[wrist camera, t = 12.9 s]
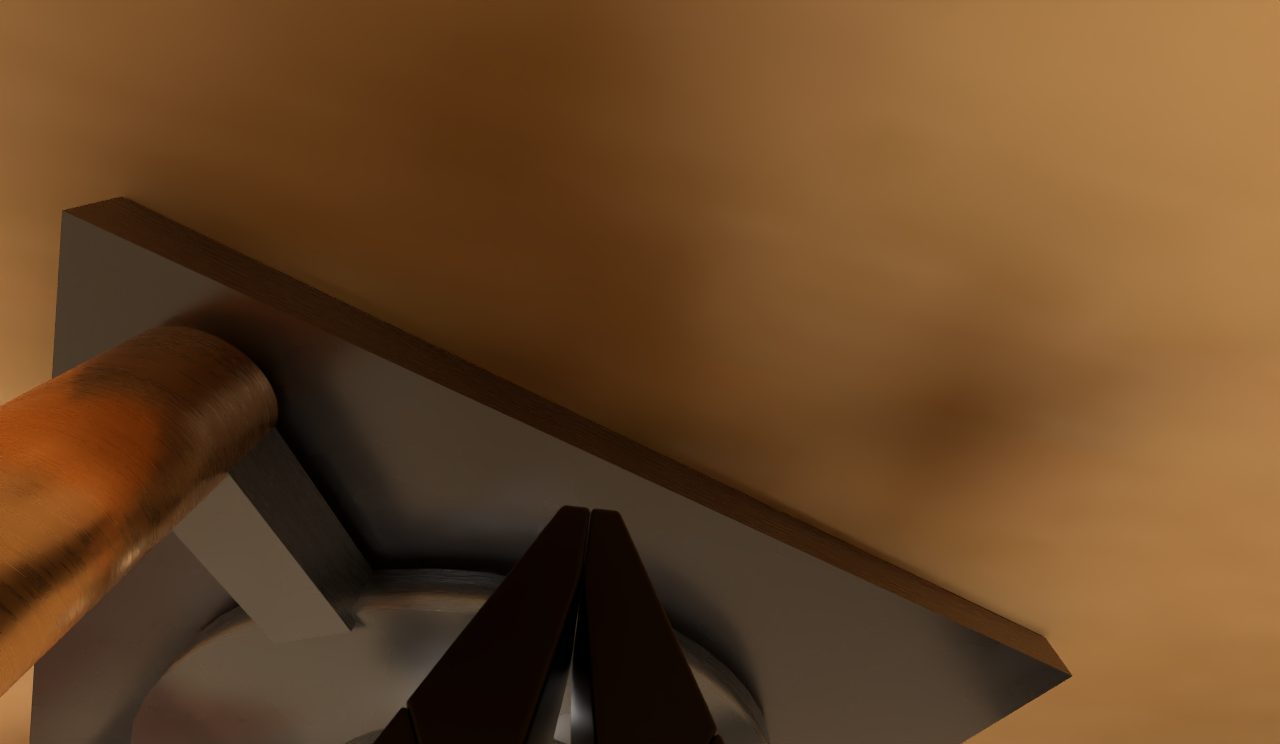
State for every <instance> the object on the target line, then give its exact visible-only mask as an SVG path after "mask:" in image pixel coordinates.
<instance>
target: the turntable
mask: <svg viewBox="0 0 1280 744" xmlns="http://www.w3.org/2000/svg"><path fill="white" fill-rule="evenodd" d="M277 418H278V406H277V400H276V397H275V394H274V391H273V389H272V387H271V385H270V383H269V381H268V380H267V378H266V377H265V375H264V374H263V373H262V371H261V370H260V369H259V368H258V367H257V366H256V364H255V363H254V362H253V361H252V360H250V359H249V358H248V357H247V356H246V355H245V354H243V353H242V352H241V351H239V350H238V349H237V348H235V347H234V346H232V345H231V344H229V343H227V342H225V341H224V340H222V339H220V338H218V337H216V336H213V335H211V334H208V333H206V332H202V331H199V330H196V329H191V328H186V327H177V326H163V327H157V328H152V329H149V330H146V331H144V332H142V333H140V334H138V335H136V336H134V337H132V338H131V339H129V340H127V341H125V342H123V343H121V344H119V345H117V346H115V347H113V348H111V349H109V350H107V351H105V352H104V353H102V354H100V355H98V356H96V357H94V358H92V359H90V360H88V361H86V362H84V363H82V364H80V365H78V366H77V367H75V368H73V369H71V370H69V371H67V372H65V373H63V374H61V375H59V376H57V377H55V378H53V379H51V380H49V381H48V382H46V383H44V384H42V385H40V386H38V387H36V388H34V389H32V390H30V391H28V392H26V393H24V394H22V395H21V396H19V397H17V398H15V399H13V400H11V401H9V402H7V403H5V404H3V405H1V406H0V697H1V696H2V695H3V694H4V693H5V692H6V691H7V690H8V689H9V688H10V687H11V686H12V685H13V684H14V683H15V682H16V681H18V680H19V679H20V678H21V677H22V676H23V675H24V674H25V673H26V672H27V671H28V670H29V669H30V668H31V667H32V666H33V665H34V664H35V663H36V662H37V661H38V660H39V659H40V658H41V657H42V656H43V655H44V654H45V653H46V652H47V651H48V650H49V649H50V648H51V647H52V646H54V645H55V644H56V643H57V642H58V641H59V640H60V639H61V638H62V637H63V636H64V635H65V634H66V633H67V632H68V631H69V630H70V629H71V628H72V627H73V626H74V625H75V624H76V623H77V622H78V621H79V620H80V619H81V618H82V617H83V616H84V615H85V614H86V613H87V612H88V611H89V610H91V609H92V608H93V607H94V606H95V605H96V604H97V603H98V602H99V601H100V600H101V599H102V598H103V597H104V596H105V595H106V594H107V593H108V592H109V591H110V590H111V589H112V588H113V587H114V586H115V585H116V584H117V583H118V582H119V581H120V580H121V579H122V578H123V577H124V576H125V575H127V574H128V573H129V572H130V571H131V570H132V569H133V568H134V567H135V566H136V565H137V564H138V563H139V562H140V561H141V560H142V559H143V558H144V557H145V556H146V555H147V554H148V553H149V552H150V551H151V550H152V549H153V548H154V547H155V546H156V545H157V544H158V543H159V542H160V541H161V540H162V539H164V538H165V537H166V536H167V535H168V534H169V533H170V532H171V531H173V532H174V533H175V534H176V535H177V536H178V537H179V539H180V540H181V541H182V542H183V543H184V544H185V545H186V546H187V547H188V549H189V550H190V551H191V552H192V553H193V554H194V555H195V556H196V557H197V559H198V560H199V561H200V562H201V563H202V564H203V565H204V566H205V567H206V569H207V570H208V571H209V572H210V573H211V574H212V575H213V576H214V578H215V579H216V580H217V581H218V582H219V583H220V584H221V585H222V586H223V588H224V589H225V590H226V591H227V592H228V593H229V594H230V595H231V596H232V598H233V599H234V600H235V601H236V602H237V603H238V604H239V605H240V606H238V607H237V608H235V609H233V610H231V611H229V612H227V613H225V614H223V615H221V616H220V617H219V618H217V619H216V620H215V621H214V622H212V623H211V624H210V625H208V626H207V627H206V628H205V629H203V630H202V631H201V632H199V633H198V634H197V635H196V636H195V637H194V638H193V639H192V641H191V642H190V643H189V644H188V645H187V646H186V648H185V649H184V650H183V651H182V652H181V654H180V655H179V656H178V657H177V658H176V660H175V661H174V662H173V663H172V665H171V666H170V667H169V669H168V670H167V671H166V672H165V674H164V675H163V676H162V677H161V679H160V680H159V681H158V682H157V684H156V685H155V686H154V687H153V689H152V690H151V691H150V692H149V694H148V695H147V696H146V697H145V699H144V700H143V702H142V704H141V706H140V708H139V711H138V713H137V715H136V717H135V719H134V721H133V727H132V734H131V742H130V744H344V743H346V742H348V741H350V740H352V739H354V738H356V737H359V736H362V735H364V734H367V733H370V732H373V731H376V730H380V729H384V728H385V727H386V726H387V725H388V723H389V722H390V721H391V720H392V718H393V717H394V716H395V715H396V713H397V712H398V711H399V710H400V709H401V708H403V707H405V708H407V707H406V702H407V700H408V699H409V697H410V696H411V695H412V694H413V692H414V691H415V690H416V689H417V687H418V686H419V685H420V684H421V682H422V681H423V680H424V679H425V677H426V676H427V675H428V674H429V672H430V671H431V670H432V669H433V667H434V666H435V665H436V664H437V662H438V661H439V660H440V659H441V657H442V656H443V655H444V653H445V652H446V651H447V650H448V648H449V647H450V646H451V645H452V643H453V642H454V641H455V640H456V638H457V637H458V636H459V635H460V633H461V632H462V631H463V630H464V628H465V627H466V626H467V625H468V623H469V622H470V621H471V620H472V618H473V617H474V616H475V615H476V613H477V612H478V611H479V609H480V608H481V607H482V606H483V604H484V603H485V602H486V601H487V599H488V598H489V597H490V596H491V594H492V593H493V592H494V591H495V589H496V588H497V587H498V586H499V584H500V583H501V582H502V581H503V579H504V578H505V577H506V576H507V575H502V574H496V573H490V572H478V571H464V570H450V569H436V568H434V569H384V570H375V571H373V570H372V568H371V567H370V565H369V564H368V563H367V561H366V560H365V558H364V557H363V555H362V554H361V552H360V551H359V549H358V548H357V546H356V545H355V544H354V542H353V541H352V539H351V538H350V536H349V535H348V533H347V532H346V530H345V529H344V527H343V526H342V525H341V523H340V522H339V520H338V519H337V517H336V516H335V514H334V513H333V511H332V510H331V508H330V507H329V505H328V504H327V503H326V501H325V500H324V498H323V497H322V495H321V494H320V492H319V491H318V489H317V488H316V486H315V485H314V484H313V482H312V481H311V479H310V478H309V476H308V475H307V473H306V472H305V470H304V469H303V467H302V466H301V465H300V463H299V462H298V460H297V459H296V457H295V456H294V454H293V453H292V451H291V450H290V448H289V447H288V445H287V444H286V443H285V441H284V440H283V438H282V437H281V435H280V434H279V432H278V431H277V429H276V428H275V425H276V422H277ZM580 594H581V592H580ZM579 602H580V600H579ZM578 610H579V607H578ZM577 618H578V615H577ZM576 626H577V623H576ZM673 631H674V633H675V635H676V637H677V639H678V642H679V644H680V646H681V648H682V651H683V653H684V655H685V657H686V659H687V662H688V664H689V666H690V668H691V670H692V673H693V675H694V677H695V679H696V681H697V684H698V686H699V688H700V690H701V693H702V695H703V697H704V699H705V701H706V704H707V706H708V708H709V710H710V712H711V715H712V717H713V719H714V721H715V723H716V726H717V728H718V731H717V734H716V735H718V734H719V735H721V736H722V738H723V740H724V743H725V744H771V743H770V738H769V733H768V730H767V727H766V724H765V721H764V718H763V716H762V713H761V711H760V709H759V708H758V706H757V704H756V703H755V701H754V699H753V698H752V696H751V694H750V693H749V691H748V690H747V689H746V688H745V686H744V685H743V684H742V683H741V682H740V681H739V680H738V679H737V677H736V676H735V675H734V674H733V673H732V672H731V671H730V670H729V668H727V667H726V666H725V665H724V664H722V663H721V662H720V661H719V660H718V659H716V658H715V657H714V656H713V655H712V654H710V653H709V652H708V651H707V650H705V649H704V648H703V647H702V646H700V645H698V644H697V643H695V642H694V641H692V640H690V639H689V638H687V637H686V636H684V635H682V634H681V633H679V632H678V631H676V630H674V629H673ZM575 634H576V631H575ZM574 642H575V639H574ZM573 651H574V647H573ZM572 661H573V654H572V660H571V667H570V671H569V676H568V680H567V685H566V689H565V693H564V697H563V701H562V706H561V710H560V714H559V718H558V722H557V726H556V730H555V734H554V738H553V739H555V740H558V741H560V742H563V743H566V744H571V678H572Z"/></svg>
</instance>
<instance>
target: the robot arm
mask: <svg viewBox="0 0 1280 744" xmlns="http://www.w3.org/2000/svg"><path fill="white" fill-rule="evenodd" d="M589 520H590V522H589ZM588 528H589V530H588ZM587 536H588V538H587ZM586 544H587V546H586ZM585 552H586V554H585ZM584 560H585V562H584ZM583 568H584V570H583ZM582 576H583V578H582ZM581 584H582V586H581ZM580 592H581V594H580ZM579 600H580V602H579ZM578 607H579V610H578ZM577 615H578V618H577ZM576 623H577V626H576ZM575 631H576V634H575ZM574 639H575V642H574ZM573 647H574V651H573ZM572 654H573V661H572V678H571V744H725V743H724V740H723V738H722V736H721V735H719V734H718V735H716V734H717V731H718V728H717V726H716V723H715V721H714V719H713V717H712V715H711V712H710V710H709V708H708V706H707V704H706V701H705V699H704V697H703V695H702V693H701V690H700V688H699V686H698V684H697V681H696V679H695V677H694V675H693V673H692V670H691V668H690V666H689V664H688V662H687V659H686V657H685V655H684V653H683V651H682V648H681V646H680V644H679V642H678V639H677V637H676V635H675V633H674V631H673V628H672V626H671V624H670V622H669V620H668V617H667V615H666V613H665V611H664V609H663V606H662V604H661V602H660V600H659V597H658V595H657V593H656V591H655V589H654V586H653V584H652V582H651V580H650V578H649V575H648V573H647V571H646V569H645V567H644V564H643V562H642V560H641V558H640V555H639V553H638V551H637V549H636V547H635V544H634V542H633V540H632V538H631V536H630V533H629V531H628V529H627V527H626V525H625V522H624V520H623V518H622V516H621V514H620V513H619V512H618V511H615V510H607V509H598V508H595V509H593V510H592V511H591V515H590V510H589V509H588V508H587V507H579V506H570V505H564V506H562V507H561V508H560V509H559V510H558V511H557V513H556V514H555V515H554V516H553V518H552V519H551V520H550V521H549V523H548V524H547V525H546V527H545V528H544V529H543V530H542V532H541V533H540V534H539V535H538V537H537V538H536V539H535V540H534V542H533V543H532V544H531V545H530V547H529V548H528V549H527V550H526V552H525V553H524V554H523V555H522V557H521V558H520V559H519V560H518V562H517V563H516V564H515V565H514V567H513V568H512V569H511V571H510V572H509V573H508V574H507V576H506V577H505V578H504V579H503V581H502V582H501V583H500V584H499V586H498V587H497V588H496V589H495V591H494V592H493V593H492V594H491V596H490V597H489V598H488V599H487V601H486V602H485V603H484V604H483V606H482V607H481V608H480V609H479V611H478V612H477V613H476V615H475V616H474V617H473V618H472V620H471V621H470V622H469V623H468V625H467V626H466V627H465V628H464V630H463V631H462V632H461V633H460V635H459V636H458V637H457V638H456V640H455V641H454V642H453V643H452V645H451V646H450V647H449V648H448V650H447V651H446V652H445V653H444V655H443V656H442V657H441V659H440V660H439V661H438V662H437V664H436V665H435V666H434V667H433V669H432V670H431V671H430V672H429V674H428V675H427V676H426V677H425V679H424V680H423V681H422V682H421V684H420V685H419V686H418V687H417V689H416V690H415V691H414V692H413V694H412V695H411V696H410V697H409V699H408V700H407V702H406V707H407V708H405V707H403V708H401V709H400V710H399V711H398V712H397V713H396V715H395V716H394V717H393V718H392V720H391V721H390V722H389V723H388V725H387V726H386V727H385V728H384V730H383V731H382V732H381V733H380V735H379V736H378V737H377V738H376V740H375V741H374V742H373V743H372V744H552V742H553V738H554V734H555V730H556V726H557V722H558V718H559V714H560V710H561V706H562V701H563V697H564V693H565V689H566V685H567V680H568V676H569V671H570V667H571V660H572Z"/></svg>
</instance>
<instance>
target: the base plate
mask: <svg viewBox="0 0 1280 744" xmlns="http://www.w3.org/2000/svg"><path fill="white" fill-rule="evenodd" d="M163 326H177V327H186V328H191V329H196V330H199V331H202V332H206V333H208V334H211V335H213V336H216V337H218V338H220V339H222V340H224V341H225V342H227V343H229V344H231V345H232V346H234V347H235V348H237V349H238V350H239V351H241V352H242V353H243V354H245V355H246V356H247V357H248V358H249V359H250V360H252V361H253V362H254V363H255V364H256V366H257V367H258V368H259V369H260V370H261V371H262V373H263V374H264V375H265V377H266V378H267V380H268V381H269V383H270V385H271V387H272V389H273V391H274V394H275V397H276V400H277V406H278V418H277V422H276V425H275V428H276V429H277V431H278V432H279V434H280V435H281V437H282V438H283V440H284V441H285V443H286V444H287V445H288V447H289V448H290V450H291V451H292V453H293V454H294V456H295V457H296V459H297V460H298V462H299V463H300V465H301V466H302V467H303V469H304V470H305V472H306V473H307V475H308V476H309V478H310V479H311V481H312V482H313V484H314V485H315V486H316V488H317V489H318V491H319V492H320V494H321V495H322V497H323V498H324V500H325V501H326V503H327V504H328V505H329V507H330V508H331V510H332V511H333V513H334V514H335V516H336V517H337V519H338V520H339V522H340V523H341V525H342V526H343V527H344V529H345V530H346V532H347V533H348V535H349V536H350V538H351V539H352V541H353V542H354V544H355V545H356V546H357V548H358V549H359V551H360V552H361V554H362V555H363V557H364V558H365V560H366V561H367V563H368V564H369V565H370V567H371V568H372V570H373V571H375V570H384V569H434V568H436V569H450V570H464V571H478V572H490V573H496V574H502V575H507V574H508V573H509V572H510V571H511V569H512V568H513V567H514V565H515V564H516V563H517V562H518V560H519V559H520V558H521V557H522V555H523V554H524V553H525V552H526V550H527V549H528V548H529V547H530V545H531V544H532V543H533V542H534V540H535V539H536V538H537V537H538V535H539V534H540V533H541V532H542V530H543V529H544V528H545V527H546V525H547V524H548V523H549V521H550V520H551V519H552V518H553V516H554V515H555V514H556V513H557V511H558V510H559V509H560V508H561V507H562V506H564V505H570V506H579V507H587V508H588V509H589V510H590V515H591V511H592V510H593V509H595V508H598V509H607V510H615V511H618V512H619V513H620V514H621V516H622V518H623V520H624V522H625V525H626V527H627V529H628V531H629V533H630V536H631V538H632V540H633V542H634V544H635V547H636V549H637V551H638V553H639V555H640V558H641V560H642V562H643V564H644V567H645V569H646V571H647V573H648V575H649V578H650V580H651V582H652V584H653V586H654V589H655V591H656V593H657V595H658V597H659V600H660V602H661V604H662V606H663V609H664V611H665V613H666V615H667V617H668V620H669V622H670V624H671V626H672V628H673V629H674V630H676V631H678V632H679V633H681V634H682V635H684V636H686V637H687V638H689V639H690V640H692V641H694V642H695V643H697V644H698V645H700V646H702V647H703V648H704V649H705V650H707V651H708V652H709V653H710V654H712V655H713V656H714V657H715V658H716V659H718V660H719V661H720V662H721V663H722V664H724V665H725V666H726V667H727V668H729V670H730V671H731V672H732V673H733V674H734V675H735V676H736V677H737V679H738V680H739V681H740V682H741V683H742V684H743V685H744V686H745V688H746V689H747V690H748V691H749V693H750V694H751V696H752V698H753V699H754V701H755V703H756V704H757V706H758V708H759V709H760V711H761V713H762V716H763V718H764V721H765V724H766V727H767V730H768V733H769V738H770V743H771V744H961V743H962V742H964V741H966V740H967V739H969V738H971V737H972V736H974V735H976V734H977V733H979V732H981V731H982V730H984V729H986V728H987V727H989V726H991V725H992V724H994V723H996V722H997V721H999V720H1000V719H1002V718H1004V717H1005V716H1007V715H1009V714H1010V713H1012V712H1014V711H1015V710H1017V709H1019V708H1020V707H1022V706H1024V705H1025V704H1027V703H1029V702H1030V701H1032V700H1034V699H1035V698H1037V697H1039V696H1040V695H1042V694H1044V693H1045V692H1047V691H1048V690H1050V689H1052V688H1053V687H1055V686H1057V685H1058V684H1060V683H1062V682H1063V681H1065V680H1067V679H1068V678H1070V677H1072V674H1071V673H1070V672H1069V670H1068V669H1067V667H1066V666H1065V665H1064V663H1063V662H1062V660H1061V659H1060V658H1059V656H1058V655H1057V653H1056V652H1055V651H1054V649H1053V648H1052V647H1051V645H1050V644H1049V642H1048V641H1047V640H1046V638H1044V637H1042V636H1040V635H1038V634H1035V633H1033V632H1031V631H1029V630H1027V629H1025V628H1023V627H1021V626H1019V625H1017V624H1015V623H1012V622H1010V621H1008V620H1006V619H1004V618H1002V617H1000V616H998V615H996V614H994V613H992V612H989V611H987V610H985V609H983V608H981V607H979V606H977V605H975V604H973V603H971V602H969V601H966V600H964V599H962V598H960V597H958V596H956V595H954V594H952V593H950V592H948V591H945V590H943V589H941V588H939V587H937V586H935V585H933V584H931V583H929V582H927V581H925V580H922V579H920V578H918V577H916V576H914V575H912V574H910V573H908V572H906V571H904V570H902V569H899V568H897V567H895V566H893V565H891V564H889V563H887V562H885V561H883V560H881V559H879V558H876V557H874V556H872V555H870V554H868V553H866V552H864V551H862V550H860V549H858V548H856V547H853V546H851V545H849V544H847V543H845V542H843V541H841V540H839V539H837V538H835V537H832V536H830V535H828V534H826V533H824V532H822V531H820V530H818V529H816V528H814V527H812V526H809V525H807V524H805V523H803V522H801V521H799V520H797V519H795V518H793V517H791V516H789V515H786V514H784V513H782V512H780V511H778V510H776V509H774V508H772V507H770V506H768V505H766V504H763V503H761V502H759V501H757V500H755V499H753V498H751V497H749V496H747V495H745V494H742V493H740V492H738V491H736V490H734V489H732V488H730V487H728V486H726V485H724V484H722V483H719V482H717V481H715V480H713V479H711V478H709V477H707V476H705V475H703V474H701V473H699V472H696V471H694V470H692V469H690V468H688V467H686V466H684V465H682V464H680V463H678V462H676V461H673V460H671V459H669V458H667V457H665V456H663V455H661V454H659V453H657V452H655V451H653V450H650V449H648V448H646V447H644V446H642V445H640V444H638V443H636V442H634V441H632V440H629V439H627V438H625V437H623V436H621V435H619V434H617V433H615V432H613V431H611V430H609V429H606V428H604V427H602V426H600V425H598V424H596V423H594V422H592V421H590V420H588V419H586V418H583V417H581V416H579V415H577V414H575V413H573V412H571V411H569V410H567V409H565V408H563V407H560V406H558V405H556V404H554V403H552V402H550V401H548V400H546V399H544V398H542V397H540V396H537V395H535V394H533V393H531V392H529V391H527V390H525V389H523V388H521V387H519V386H516V385H514V384H512V383H510V382H508V381H506V380H504V379H502V378H500V377H498V376H496V375H493V374H491V373H489V372H487V371H485V370H483V369H481V368H479V367H477V366H475V365H473V364H470V363H468V362H466V361H464V360H462V359H460V358H458V357H456V356H454V355H452V354H450V353H447V352H445V351H443V350H441V349H439V348H437V347H435V346H433V345H431V344H429V343H426V342H424V341H422V340H420V339H418V338H416V337H414V336H412V335H410V334H408V333H406V332H403V331H401V330H399V329H397V328H395V327H393V326H391V325H389V324H387V323H385V322H383V321H380V320H378V319H376V318H374V317H372V316H370V315H368V314H366V313H364V312H362V311H360V310H357V309H355V308H353V307H351V306H349V305H347V304H345V303H343V302H341V301H339V300H337V299H334V298H332V297H330V296H328V295H326V294H324V293H322V292H320V291H318V290H316V289H313V288H311V287H309V286H307V285H305V284H303V283H301V282H299V281H297V280H295V279H293V278H290V277H288V276H286V275H284V274H282V273H280V272H278V271H276V270H274V269H272V268H270V267H267V266H265V265H263V264H261V263H259V262H257V261H255V260H253V259H251V258H249V257H247V256H244V255H242V254H240V253H238V252H236V251H234V250H232V249H230V248H228V247H226V246H224V245H221V244H219V243H217V242H215V241H213V240H211V239H209V238H207V237H205V236H203V235H200V234H198V233H196V232H194V231H192V230H190V229H188V228H186V227H184V226H182V225H180V224H177V223H175V222H173V221H171V220H169V219H167V218H165V217H163V216H161V215H159V214H157V213H154V212H152V211H150V210H148V209H146V208H144V207H142V206H140V205H138V204H136V203H134V202H131V201H129V200H127V199H125V198H123V197H118V198H114V199H109V200H105V201H101V202H97V203H92V204H88V205H84V206H80V207H76V208H71V209H67V210H63V211H62V225H61V242H60V258H59V274H58V290H57V306H56V322H55V339H54V355H53V371H52V379H53V378H55V377H57V376H59V375H61V374H63V373H65V372H67V371H69V370H71V369H73V368H75V367H77V366H78V365H80V364H82V363H84V362H86V361H88V360H90V359H92V358H94V357H96V356H98V355H100V354H102V353H104V352H105V351H107V350H109V349H111V348H113V347H115V346H117V345H119V344H121V343H123V342H125V341H127V340H129V339H131V338H132V337H134V336H136V335H138V334H140V333H142V332H144V331H146V330H149V329H152V328H157V327H163ZM589 522H590V520H589ZM588 530H589V528H588ZM587 538H588V536H587ZM586 546H587V544H586ZM585 554H586V552H585ZM584 562H585V560H584ZM583 570H584V568H583ZM582 578H583V576H582ZM581 586H582V584H581ZM238 606H240V605H239V604H238V603H237V602H236V601H235V600H234V599H233V598H232V596H231V595H230V594H229V593H228V592H227V591H226V590H225V589H224V588H223V586H222V585H221V584H220V583H219V582H218V581H217V580H216V579H215V578H214V576H213V575H212V574H211V573H210V572H209V571H208V570H207V569H206V567H205V566H204V565H203V564H202V563H201V562H200V561H199V560H198V559H197V557H196V556H195V555H194V554H193V553H192V552H191V551H190V550H189V549H188V547H187V546H186V545H185V544H184V543H183V542H182V541H181V540H180V539H179V537H178V536H177V535H176V534H175V533H174V532H173V531H171V532H170V533H169V534H168V535H167V536H166V537H165V538H164V539H162V540H161V541H160V542H159V543H158V544H157V545H156V546H155V547H154V548H153V549H152V550H151V551H150V552H149V553H148V554H147V555H146V556H145V557H144V558H143V559H142V560H141V561H140V562H139V563H138V564H137V565H136V566H135V567H134V568H133V569H132V570H131V571H130V572H129V573H128V574H127V575H125V576H124V577H123V578H122V579H121V580H120V581H119V582H118V583H117V584H116V585H115V586H114V587H113V588H112V589H111V590H110V591H109V592H108V593H107V594H106V595H105V596H104V597H103V598H102V599H101V600H100V601H99V602H98V603H97V604H96V605H95V606H94V607H93V608H92V609H91V610H89V611H88V612H87V613H86V614H85V615H84V616H83V617H82V618H81V619H80V620H79V621H78V622H77V623H76V624H75V625H74V626H73V627H72V628H71V629H70V630H69V631H68V632H67V633H66V634H65V635H64V636H63V637H62V638H61V639H60V640H59V641H58V642H57V643H56V644H55V645H54V646H52V647H51V648H50V649H49V650H48V651H47V652H46V653H45V654H44V655H43V656H42V657H41V658H40V659H39V660H38V661H37V662H36V663H35V664H34V678H33V694H32V710H31V727H30V743H29V744H130V742H131V734H132V727H133V721H134V719H135V717H136V715H137V713H138V711H139V708H140V706H141V704H142V702H143V700H144V699H145V697H146V696H147V695H148V694H149V692H150V691H151V690H152V689H153V687H154V686H155V685H156V684H157V682H158V681H159V680H160V679H161V677H162V676H163V675H164V674H165V672H166V671H167V670H168V669H169V667H170V666H171V665H172V663H173V662H174V661H175V660H176V658H177V657H178V656H179V655H180V654H181V652H182V651H183V650H184V649H185V648H186V646H187V645H188V644H189V643H190V642H191V641H192V639H193V638H194V637H195V636H196V635H197V634H198V633H199V632H201V631H202V630H203V629H205V628H206V627H207V626H208V625H210V624H211V623H212V622H214V621H215V620H216V619H217V618H219V617H220V616H221V615H223V614H225V613H227V612H229V611H231V610H233V609H235V608H237V607H238Z"/></svg>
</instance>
